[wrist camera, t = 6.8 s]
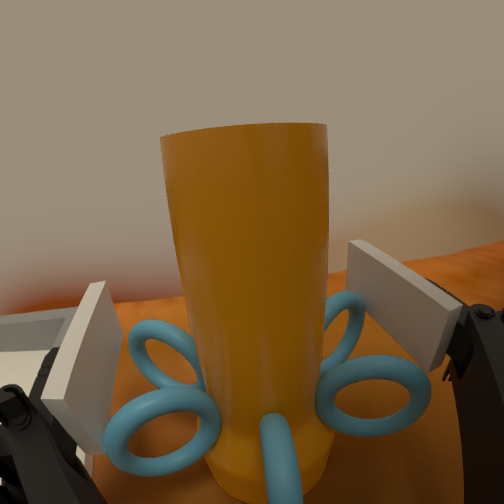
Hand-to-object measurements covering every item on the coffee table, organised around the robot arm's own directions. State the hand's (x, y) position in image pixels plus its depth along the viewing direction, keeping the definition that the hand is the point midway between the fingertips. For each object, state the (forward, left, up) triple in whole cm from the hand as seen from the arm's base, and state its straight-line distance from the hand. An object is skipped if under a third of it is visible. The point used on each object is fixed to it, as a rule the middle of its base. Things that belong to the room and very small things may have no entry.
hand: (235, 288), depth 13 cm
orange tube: (0, +4, -9) cm, 10 cm away
